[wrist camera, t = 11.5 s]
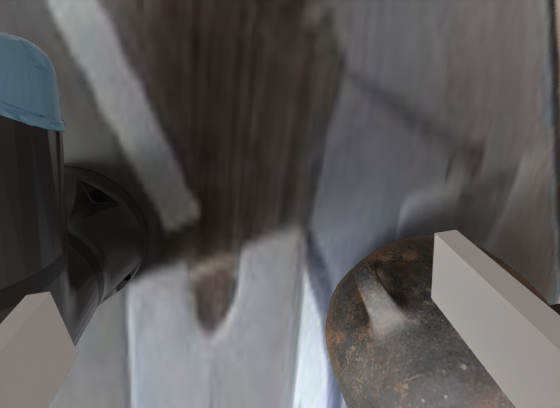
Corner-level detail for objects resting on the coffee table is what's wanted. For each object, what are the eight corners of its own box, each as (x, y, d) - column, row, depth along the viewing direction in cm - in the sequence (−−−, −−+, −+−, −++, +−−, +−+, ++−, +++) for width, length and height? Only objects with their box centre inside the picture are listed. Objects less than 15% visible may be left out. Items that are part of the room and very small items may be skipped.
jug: (279, 329, 47) (328, 717, 20) (346, 183, 40) (572, 466, 13) (435, 366, 52) (647, 712, 25) (519, 242, 45) (945, 534, 18)
